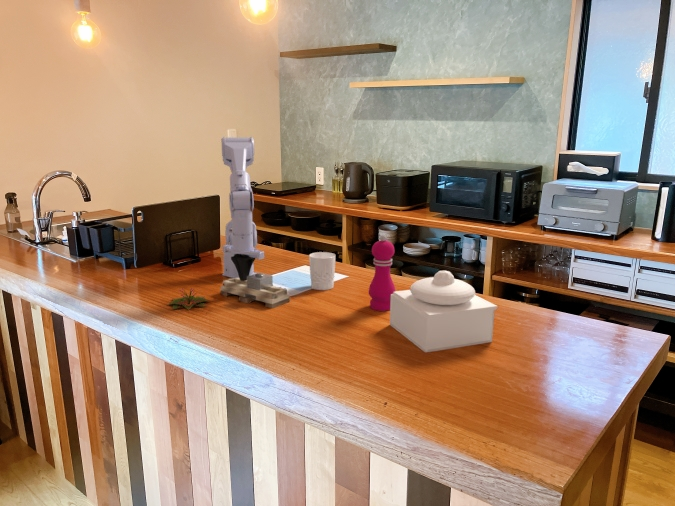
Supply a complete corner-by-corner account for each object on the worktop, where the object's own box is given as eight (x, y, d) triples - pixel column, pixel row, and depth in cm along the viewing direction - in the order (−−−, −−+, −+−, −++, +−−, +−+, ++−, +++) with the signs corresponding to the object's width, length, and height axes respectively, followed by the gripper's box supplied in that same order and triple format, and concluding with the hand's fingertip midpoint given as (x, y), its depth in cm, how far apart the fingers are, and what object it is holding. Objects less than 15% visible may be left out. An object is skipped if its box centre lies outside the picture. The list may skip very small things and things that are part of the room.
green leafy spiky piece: (211, 310, 143) (211, 294, 142) (165, 314, 140) (163, 297, 139) (210, 296, 154) (209, 281, 153) (167, 299, 151) (165, 284, 150)
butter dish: (389, 325, 132) (391, 263, 128) (452, 317, 138) (456, 257, 135) (425, 353, 116) (428, 283, 112) (494, 342, 122) (499, 275, 119)
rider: (247, 291, 149) (246, 275, 148) (259, 287, 153) (259, 271, 152) (260, 294, 146) (259, 278, 145) (272, 290, 150) (272, 274, 149)
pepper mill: (393, 312, 141) (396, 238, 136) (366, 310, 142) (367, 237, 137) (396, 303, 148) (398, 232, 143) (370, 302, 149) (371, 231, 144)
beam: (218, 295, 154) (217, 282, 153) (241, 287, 161) (240, 275, 160) (269, 309, 142) (269, 295, 142) (291, 300, 150) (291, 287, 149)
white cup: (336, 283, 166) (336, 252, 163) (333, 291, 158) (334, 258, 156) (311, 282, 167) (311, 251, 164) (307, 290, 159) (307, 257, 157)
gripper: (213, 232, 151) (216, 278, 154) (251, 239, 142) (252, 287, 146) (232, 228, 156) (234, 273, 159) (269, 234, 148) (270, 281, 151)
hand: (244, 279), depth 153 cm, fingers closed
